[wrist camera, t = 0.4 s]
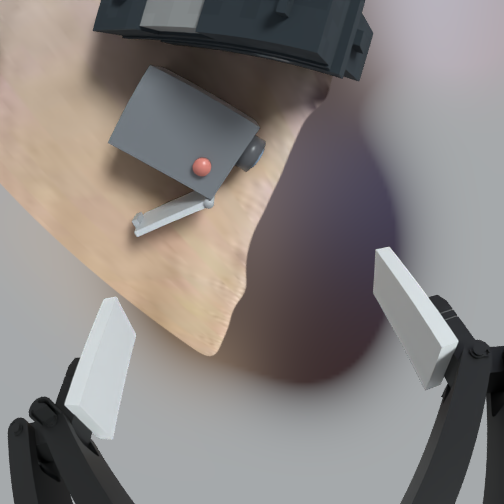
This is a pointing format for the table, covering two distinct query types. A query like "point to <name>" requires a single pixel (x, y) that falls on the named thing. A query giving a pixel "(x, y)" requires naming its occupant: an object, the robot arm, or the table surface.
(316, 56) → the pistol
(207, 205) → the door
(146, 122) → the camera body
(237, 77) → the table surface
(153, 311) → the table surface
